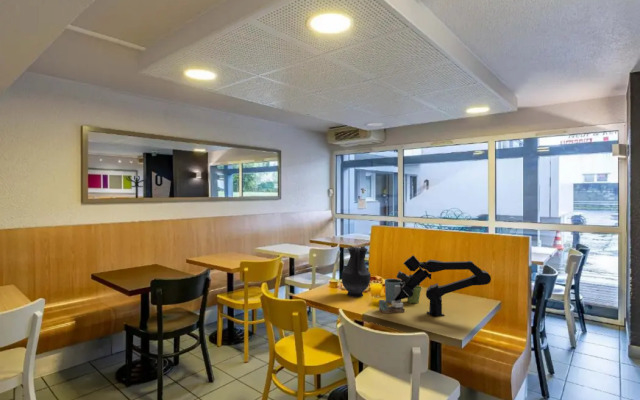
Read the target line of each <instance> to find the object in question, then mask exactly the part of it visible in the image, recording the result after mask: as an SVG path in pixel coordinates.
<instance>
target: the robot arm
mask: <svg viewBox="0 0 640 400" xmlns="http://www.w3.org/2000/svg"><path fill="white" fill-rule="evenodd" d="M403 265H404V266H405V267H406V268H407V269H408V270H409V271H410V272H413V274H409V275H408V274H406V273H404V272H402V271H401V270H399V271H398V273H397V274H396V279H399V280H401V282H402V283H401V282H400V286H401V290H400V293H399V294H398V295H397V297H396V298H395V299H394V300H395V301H398V300H401V301H402V300H404V299H407V298H409V297H412V296H413V290H414V288H415V287H417V286H420V285H421V283H422V282H423V281H425V280H426V279H427V278H428V279H429V280H432V276H433V274H432V273H437V272H442V271H450V270H451V271H453V270H454V271H455V270H462V271H463V270H467V271H468V270H469V271H470V272H471V273H472V275H470V276H469V277H466V278H463V279H460V280H456V281H453V282H450V283H446V284H443V285H439V283H438V282H437V283H434V284H432V285H429V287H427V288H426V293H425V296H426V298H427V299H428V300H429V305H428V306H429V308H428V309H429V311H426V314H428V315H430V316H432V317H442V316H445V314H444V313H443V303H442V302H443V296H445V295H446V294H449V293H452V292H456V291H459V290H463V289H465V288H469V287H472V286H485V285H488V284H490V283H491V281H492V277H491V275H490V274H489V272H488V271H486V270H482V269H481V268H480V267H478V266H477V265H476V263H474V262H473V261H472V260H466V261H464V260H463V261H442V260H437V259H428V260H426V261H420V260H419V259H417V257H416V256H415V255H414V254H412V255H411V256H410V257H408V258H407V259H406V260H405V261H404V262H403ZM394 296H395V294H394Z"/></svg>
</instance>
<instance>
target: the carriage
mask: <svg viewBox="0 0 640 400" xmlns="http://www.w3.org/2000/svg"><path fill="white" fill-rule="evenodd" d="M400 290H401V286H399V285H395V298H396V297H397V295H398V294H399V293H400ZM391 305H392V306H394V307H403V308H404V303H403V302H402V301H401V302H400V300H398V301H392V303H391Z"/></svg>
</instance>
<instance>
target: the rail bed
mask: <svg viewBox="0 0 640 400" xmlns="http://www.w3.org/2000/svg"><path fill="white" fill-rule="evenodd" d="M378 301H379V303H378V310H379V311H380V312H381V313H382V314H393V313H394V314H395V313H405V308H404V306H403V307H394V306H393V305H392V306H391V305H390V306H388V302H386V299H379V300H378Z"/></svg>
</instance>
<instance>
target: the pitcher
mask: <svg viewBox="0 0 640 400" xmlns="http://www.w3.org/2000/svg"><path fill="white" fill-rule="evenodd" d="M347 250H348V253H349V259H348V261H347V264H346V266H345V268H344V269H343V270H342V271H341V282H342V286H343V287H344V289H345V290H346V291H347V294H346V295H347V296H348V297H351V298H361V297H364V294H363V292H364V291H366V290H367V289H368V288H369V285H370V283H371V272H370V271H369V270H368V267H367V266H366V260H365V258H366V254H367V252H368V248H366V247H360V246H358V247H357V246H350V247H348V248H347Z"/></svg>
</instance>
